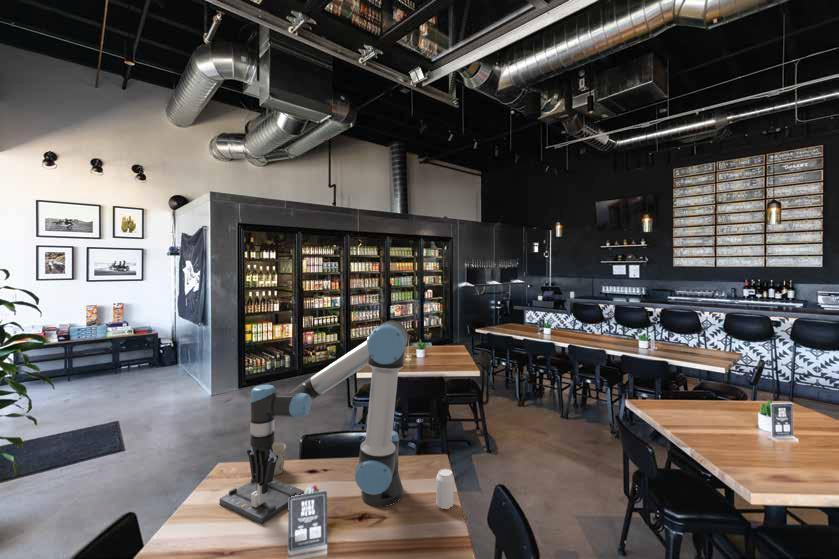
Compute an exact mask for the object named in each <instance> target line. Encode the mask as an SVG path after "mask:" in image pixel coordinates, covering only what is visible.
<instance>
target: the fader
mask: <svg viewBox="0 0 839 559" xmlns="http://www.w3.org/2000/svg"><path fill="white" fill-rule="evenodd" d="M265 502H266V501H265ZM263 503H264V502H263ZM259 505H261V504H258V503H257V491H255V492H253V493H251V506H253V507H255V508H256V507H258V506H259Z"/></svg>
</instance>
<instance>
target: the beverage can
mask: <svg viewBox="0 0 839 559" xmlns="http://www.w3.org/2000/svg"><path fill="white" fill-rule="evenodd" d="M435 479H436V480H435V486H436V488H435V490H436V491H435V501H436V502H435V504H437V505H436V507H437V506H439V507H441V508H450V507H451V506H452V505H453V504H454V505H455V477H454V474H453V471H452V470H451V469H449V468H441V469H439V470H438V472H437V475H436V477H435ZM439 507H438V508H439Z"/></svg>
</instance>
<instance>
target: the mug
mask: <svg viewBox="0 0 839 559" xmlns="http://www.w3.org/2000/svg"><path fill="white" fill-rule="evenodd" d="M272 449H273V454H274V455H275V456H276V455H278V460H277V461H276V466H275V471H274V476H277V475H280V474H281V473H282V472H284V467H285V459H286V458H285V457H286V451H287V445H286V444H285V443H283V442H274V443H273V445H272Z"/></svg>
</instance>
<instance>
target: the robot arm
mask: <svg viewBox="0 0 839 559" xmlns="http://www.w3.org/2000/svg"><path fill="white" fill-rule="evenodd" d="M408 341H409V332H408V330H407V328H406V327H405V326H404V324H402V323H401V322H400V321H398V320H397V321H396V320H388V321H384V322H383V323H381V324H380V325H378V326H376V327H375V328H374V329H373V330H372V331H371V333H370V334H369V335H368V336H367V339H366V340H365V341H364V342H362V343H360V344H358V345H357V346H356V347H355V348H353V349H351V350H350V351H348V352H347V353H345V354H344V355H342V356H341V357H339V358H338V359H336V360H335V361H333V362H331V363H330V364H329V365H327V366H326V367H324V368H323V369H321V370H320V371H318V372H317V373H315V374H313V375H312V376H311V377H309V378H307V379H306V380H304V381H302V382H300V383H299V385H298V386H296V387H295V388H294V389H292V390H291V391H290V392H276V388H275V386H274V385H271V384H261V385H256V386H254V387H253V388H252V389H251V392H250V400H249V401H250V421H249V422H250V430H249V431H250V432H249V433H250V438H249V439H250V441H249V442H250V443H249V445H250V446H251V448H250V449H247V450H246V453H247V456H248V459H249V460H248V461H249V468H250V476H251V479H253V480H254V479H255V482H256V483H257V503H258V504H262V503H263V502H265V501H266V500H267V492H268V483H270V482H272V481H273V479H274V477H275V475H274V471H275V466H276V461H277V460H278V455H276V456H275V455H274V454H273V449H272V445H273V443H275V417H290V418H292V417H293V418H301V417H302V418H303V417H307V416H308V415H309V414H310V411H311V408H312V402H313V401H315V400H316V399H317V398H319V397H320V396H322V395H323V394H324V393H326V392H328V391H329V390H330V389H332V388H334V387H335V386H337V385H338V384H340V383H341V382H343V381H344V380H346V379H348V378H349V377H350V376H353V375H354V374H356V373H357V372H359V371H360V370H362V369H363V368H365V367H367V365H368V366H369V367H370V368H371V377H370V378H371V380H370V389H369V390H370V391H369V398H368V400H369V401H368V411H367V420H366V421H367V422H366V432H365V440H364V441H362V442H361V444H360V448H359V458H358V465H357V466H356V468H355V469H356V470H355V472H354V479H355V483H356V486H358V488H359V489H361V500H362V501H363V502H364V503H366V504H367V505H369V506H372V507H378V506H383V507H387V506H386V505H389V506H391V505H390V504H392V505H394V504H393V503H395V502H397V501H398V500H399V499H400V498H401V497H402V498H403V496H402V494H403V495H404V487H403V484H402V481H401V476H400V473H399V442H400V438H399V434H398V432H397V431H396V430H393V429H394V419H395V409H396V399H397V398H396V397H397V388H398V378H399V371H400V370H401V369H403V367H404V364H405V353H406V346H407V344H408ZM402 498H401V499H402ZM401 499H400V500H401ZM400 500H399V501H400ZM399 501H398V502H399ZM398 502H397V503H398ZM395 504H396V503H395Z"/></svg>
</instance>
